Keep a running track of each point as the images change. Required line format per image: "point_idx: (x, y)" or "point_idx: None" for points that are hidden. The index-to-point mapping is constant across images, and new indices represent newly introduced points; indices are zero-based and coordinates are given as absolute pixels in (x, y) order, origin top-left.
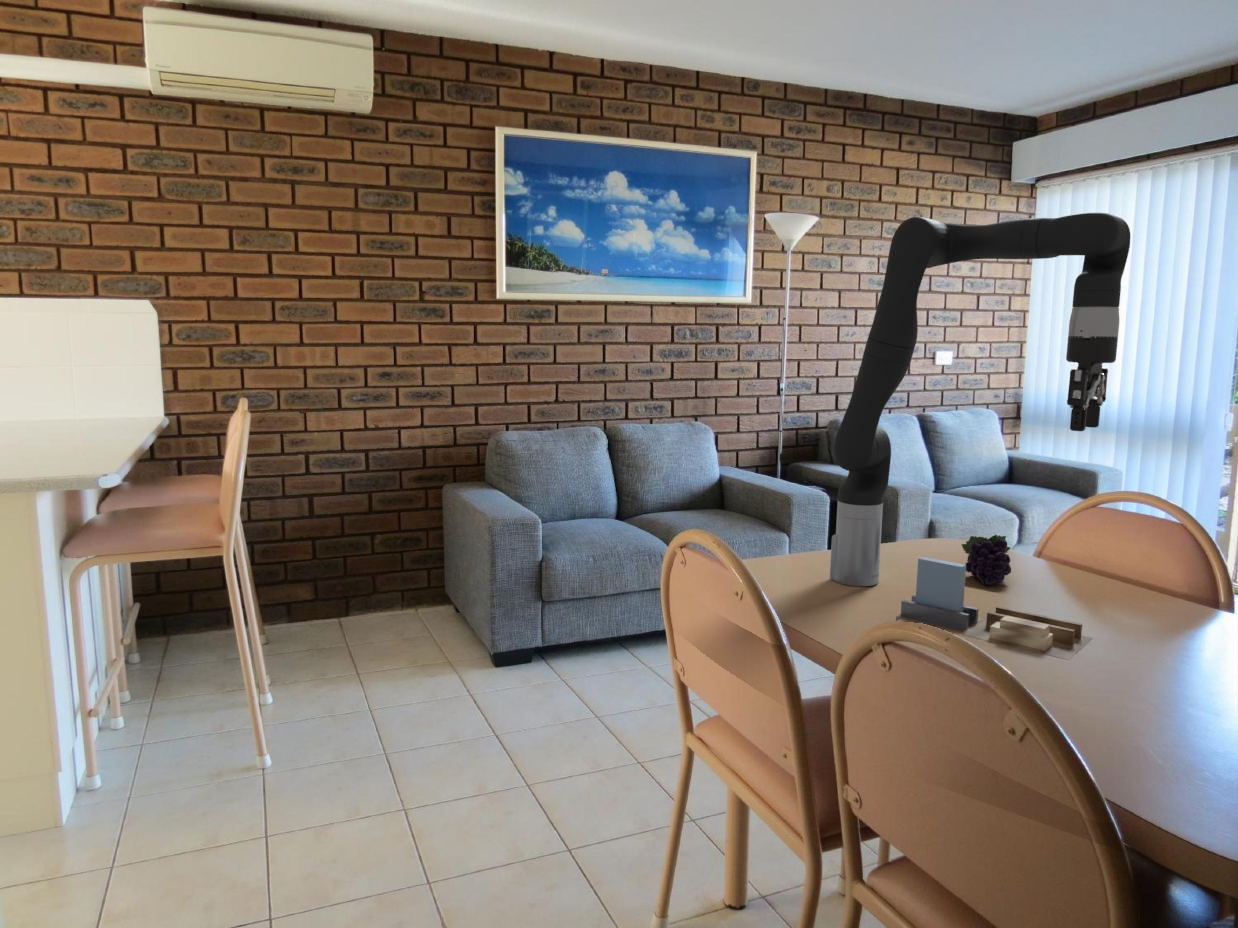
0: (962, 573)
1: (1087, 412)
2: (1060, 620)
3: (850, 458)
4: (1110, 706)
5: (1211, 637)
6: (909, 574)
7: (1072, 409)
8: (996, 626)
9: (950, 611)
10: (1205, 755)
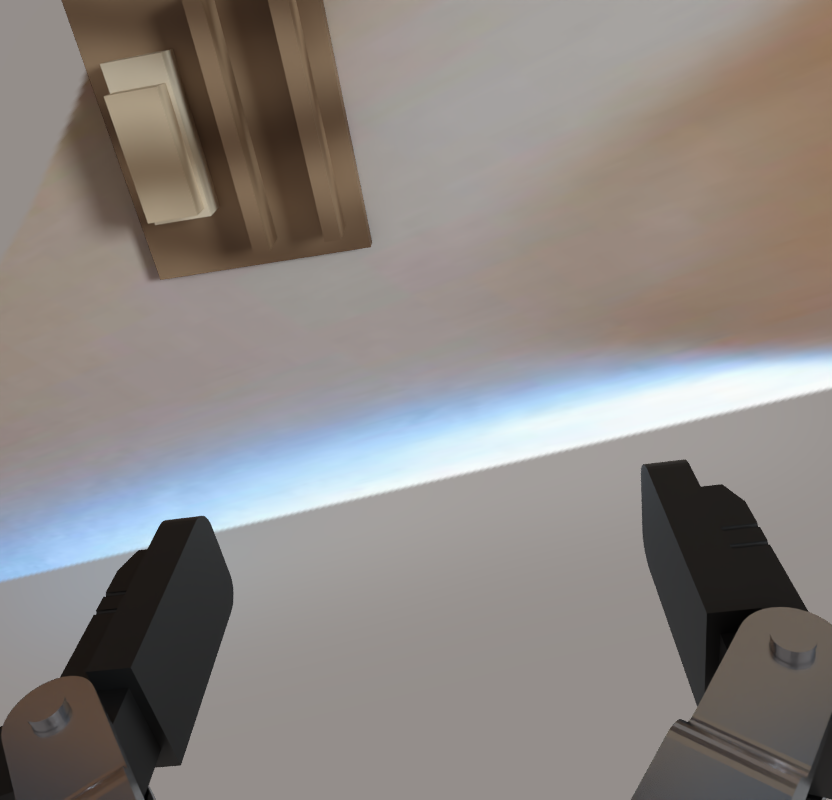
0: None
1: (679, 575)
2: (315, 187)
3: None
4: (43, 413)
5: (665, 397)
6: None
7: (92, 672)
8: (116, 78)
9: None
10: (14, 554)
